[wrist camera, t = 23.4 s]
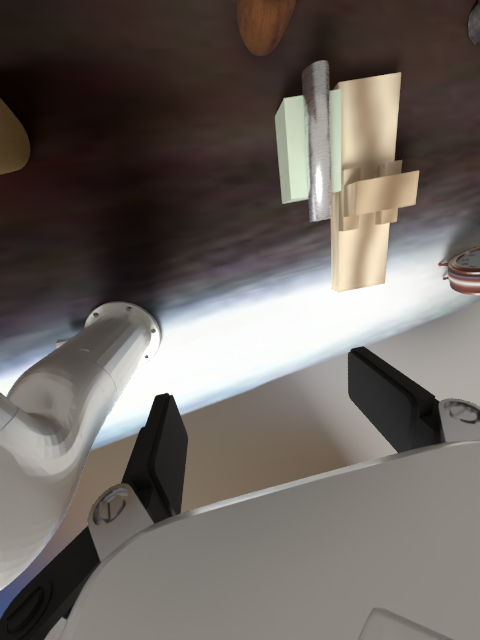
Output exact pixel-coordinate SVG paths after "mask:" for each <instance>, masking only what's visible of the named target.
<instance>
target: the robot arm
mask: <svg viewBox="0 0 480 640" xmlns="http://www.w3.org/2000/svg"><path fill="white" fill-rule="evenodd" d="M129 307H131V308H129ZM154 329H155V330H154ZM160 340H161V334H160V329H159V326H158V324H157V322H156V320H155V319H154V318H153V316H152V315H151V314H150V313H149V312H147V311H146V310H145V309H143V308H142V307H140V306H138V305H136V304H133V303H129V302H124V301H114V302H109V303H105V304H103V305H101V306H99V307H98V308H96V309H95V310H93V311H92V313H91V314H90V315H89V316H88V318H87V320H86V323H85V326H84V330H82V331H81V332H79V333H78V334H77V335H75V336H74V337H72V338H66V339H60V340H58V341H57V342H56V348H57V349H56V350H54V351H53V352H51V353H50V354H49V355H47V356H46V357H44V358H43V359H42V360H40V361H39V362H37V363H36V364H34V365H33V366H32V367H30V368H29V369H28V370H27V371H25V372H24V373H23V374H22V375H21V376H20V377H19V378H18V380H17V381H16V382H15V383H14V385H13V386H12V388H11V389H10V391H9V392H8V394H7V396H6V397H5V396H4V395H3V394H2V393H0V590H2V589H3V588H4V587H6V586H7V585H8V584H10V583H11V582H12V581H13V580H14V579H15V578H16V577H17V576H19V575H20V574H21V573H22V572H23V571H24V570H25V569H26V568H27V567H28V566H29V565H30V564H31V563H32V561H33V560H34V559H35V558H36V557H37V556H38V554H40V552H41V551H42V550H43V548H44V547H45V546H46V544H47V543H48V542H49V540H50V539H51V538H52V536H53V534H54V533H55V531H56V530H57V528H58V526H59V525H60V523H61V521H62V519H63V518H64V515H65V514H66V512H67V510H68V508H69V506H70V504H71V501H72V499H73V497H74V494H75V492H76V489H77V486H78V484H79V481H80V478H81V475H82V472H83V469H84V466H85V463H86V460H87V457H88V454H89V452H90V449H91V447H92V445H93V443H94V440H95V438H96V436H97V434H98V433H99V431H100V429H101V427H102V425H103V423H104V422H105V420H106V418H107V416H108V415H109V413H110V411H111V410H112V408H113V406H114V405H115V403H116V401H117V400H118V398H119V396H120V395H121V393H122V391H123V390H124V388H125V386H126V385H127V383H128V381H129V380H130V378H131V376H132V375H133V373H134V371H135V370H136V368H137V366H138V365H141V364H143V363H145V362H147V361H148V360H150V359H151V358H152V357H153V356H154V355H155V353H156V352H157V350H158V347H159V345H160ZM348 393H349V397H350V399H351V400H352V401H353V402H354V403H355V405H356V406H357V407H358V408H359V409H360V410H361V411H362V412H363V414H364V415H365V416H366V417H367V418H368V419H369V420H370V422H371V423H372V424H373V425H374V426H375V427H376V428H377V430H378V431H379V432H380V433H381V434H382V435H383V436H384V437H385V439H386V440H387V441H388V442H389V443H390V444H391V445H392V446H393V448H394V449H395V450H396V451H397V452H398V453H397V454H393V455H389V456H386V457H382V458H378V459H375V460H371V461H367V462H363V463H360V464H355V465H352V466H348V467H344V468H340V469H337V470H333V471H330V472H326V473H322V474H318V475H314V476H311V477H307V478H303V479H300V480H296V481H292V482H289V483H285V484H281V485H278V486H274V487H270V488H267V489H263V490H260V491H256V492H252V493H249V494H245V495H242V496H238V497H235V498H231V499H228V500H224V501H220V502H217V503H214V504H210V505H207V506H203V507H200V508H197V509H193V510H191V511H187V512H184V513H181V514H180V512H181V503H182V493H183V484H184V473H185V464H186V455H187V444H188V436H187V432H186V430H185V427H184V425H183V421H182V419H181V416H180V413H179V411H178V408H177V405H176V402H175V400H174V397H173V395H169V394H168V393H165V394H161V395H157V396H156V397H155V399H154V402H153V405H152V408H151V411H150V414H149V417H148V420H147V423H146V426H145V427H142V428H141V430H140V432H139V435H138V437H137V440H136V443H135V446H134V448H133V451H132V454H131V457H130V460H129V462H128V465H127V468H126V471H125V473H124V476H123V479H122V482H121V484H117V485H115V486H113V487H111V488H109V489H108V490H106V491H105V492H104V493H103V494H102V495H101V496H100V497H99V498H98V499H97V500H96V502H95V503H94V504H93V506H92V508H91V510H90V512H89V515H88V519H87V522H88V526H87V527H86V528H85V529H84V530H83V531H82V532H81V533H80V534H79V535H78V536H77V537H76V538H75V539H74V540H73V541H72V542H71V543H70V544H69V545H68V546H67V547H65V549H64V550H62V551H61V553H59V554H58V555H57V556H56V557H55V558H54V559H53V560H52V561H51V562H50V563H49V564H48V565H47V566H46V567H45V568H44V569H43V570H42V571H41V572H40V573H39V574H38V575H37V576H36V577H35V578H34V579H33V580H32V581H31V582H30V583H28V584H27V585H26V586H25V588H23V589H22V590H21V592H20V593H19V594H18V595H17V596H16V597H15V598H14V599H13V601H12V602H11V603H10V605H9V606H8V608H7V609H6V611H5V612H4V614H3V616H2V617H1V619H0V640H480V407H479V406H477V405H476V404H473V403H471V402H468V401H464V400H460V399H453V398H452V399H444V400H442V401H440V402H439V401H438V400H436V399H435V396H434V395H433V394H431V393H430V392H428V391H427V390H425V389H424V388H423V387H421V386H420V385H418V384H417V383H415V382H414V381H412V380H411V379H410V378H408V377H407V376H405V375H404V374H402V373H401V372H400V371H398V370H396V369H395V368H394V367H392V366H391V365H390V364H388V363H387V362H385V361H384V360H382V359H381V358H379V357H378V356H377V355H375V354H374V353H372V352H371V351H369V350H368V349H367V348H365V347H363V346H362V347H357V348H353V349H351V351H350V352H349V353H348Z"/></svg>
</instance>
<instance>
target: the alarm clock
mask: <svg viewBox="0 0 480 640" xmlns="http://www.w3.org/2000/svg"><path fill="white" fill-rule="evenodd" d="M439 266H448V277H444V278H443V280H445V279H449V281H450V286H451V288H452V289H454V290H455V291H457V292H460V293H464V294H470V295H480V247H474V248H473V249H470V250H468V251H465V252H463V253H461V254H459V255H457V256H455V257H454V258H452V259H451V260H450V262H448V263H444V264H439Z"/></svg>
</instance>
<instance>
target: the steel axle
mask: <svg viewBox="0 0 480 640" xmlns="http://www.w3.org/2000/svg"><path fill="white" fill-rule="evenodd" d="M302 92H303V110H304V128H305V146H306V164H307V182H308V200H309V218H310V222H314V221H320V220H325V219H330V218H333V217H332V173H331V128H330V84H329V62H328V61H325V60H321V61H317V62H314V63H312V64H311V65H309V66H308V67H307V68H305V70H304V71H303V72H302Z"/></svg>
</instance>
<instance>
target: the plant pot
mask: <svg viewBox="0 0 480 640" xmlns="http://www.w3.org/2000/svg"><path fill="white" fill-rule="evenodd" d="M29 156H30V142H29V138H28V135H27V133H26V131H25V129H24V127H23V125H22V124H21V123H20V121H19V120H18V119H17V117H16V116H15V115H14V114H13V112H12V111H11V110H10V109H9V108H8V106H7V105H6V104H5V103H4V102H3V101H2V99H1V98H0V174H5V173H9V172H13V171H17V170H19V169H21V168H23V167H24V166H25V165H26V163H27V162H28V160H29Z"/></svg>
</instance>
